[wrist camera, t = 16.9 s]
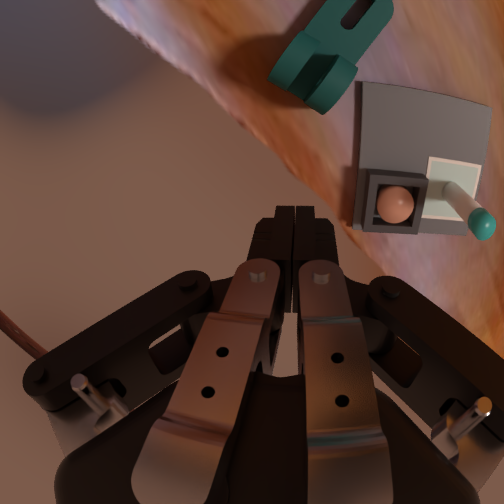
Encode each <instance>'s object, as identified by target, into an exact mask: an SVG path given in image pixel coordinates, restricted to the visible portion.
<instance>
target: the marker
mask: <svg viewBox="0 0 504 504" xmlns="http://www.w3.org/2000/svg"><path fill="white" fill-rule="evenodd" d="M442 196H443V198H444V199H445V201H446V202H447V203H448V204H449V205H450V206H451V207H452V208H453V209H454V210H455V212H456V213H457V214H458V215H459V216H460V217H461V218H462V219H463V221H464V222H465V223H466V224H467V225H468V227H469V229H470V230H471V231H472V233H473V234H474V235H475V236H476V237H477V239H479V240H486V239H488V238H490V237H491V236H492V234H493V233H494V231H495V228H496V221H495V219H494V218H493V217H492V216H491V214H490V213H489V212H488V211H487V210H486V209H484V208H482V207H481V206H480V205H479V204H478V203H477V202H476V201H475V200H474V199H473V198H472V197H471V196H470V195H469V194H468V193H467V192H466V191H465V190H463V189H462V188H461V187H460V186H459V185H458V184H457V183H455V182H448V183H447V184H445V186H444V187H443V189H442Z"/></svg>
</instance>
